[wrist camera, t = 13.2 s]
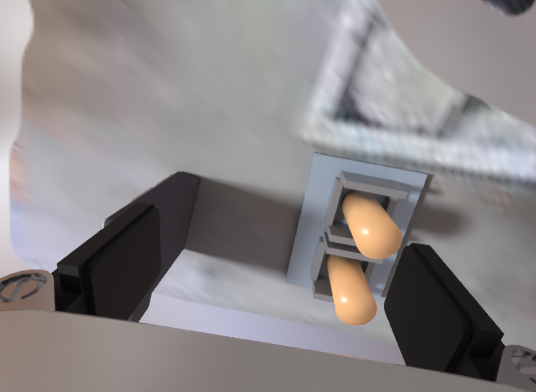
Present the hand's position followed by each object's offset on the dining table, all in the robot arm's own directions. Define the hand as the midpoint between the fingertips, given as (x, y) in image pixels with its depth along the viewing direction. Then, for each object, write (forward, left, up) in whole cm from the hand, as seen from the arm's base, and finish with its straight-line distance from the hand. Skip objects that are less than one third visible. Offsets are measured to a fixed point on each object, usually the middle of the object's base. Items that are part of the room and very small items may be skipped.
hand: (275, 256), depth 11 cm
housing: (+9, +10, -24) cm, 27 cm away
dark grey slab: (+11, -12, -24) cm, 29 cm away
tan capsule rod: (+5, +10, -23) cm, 25 cm away
